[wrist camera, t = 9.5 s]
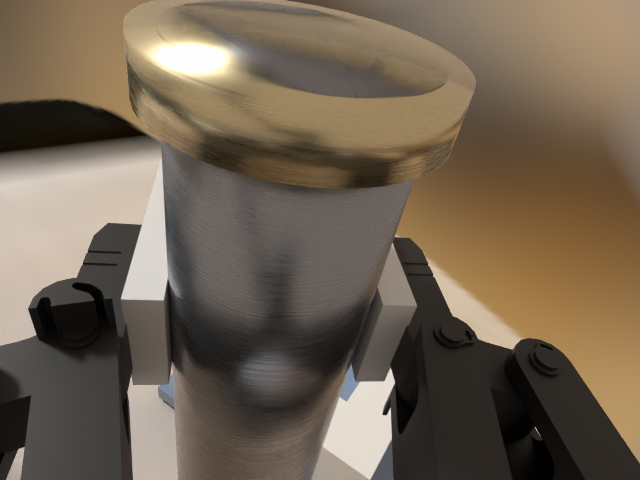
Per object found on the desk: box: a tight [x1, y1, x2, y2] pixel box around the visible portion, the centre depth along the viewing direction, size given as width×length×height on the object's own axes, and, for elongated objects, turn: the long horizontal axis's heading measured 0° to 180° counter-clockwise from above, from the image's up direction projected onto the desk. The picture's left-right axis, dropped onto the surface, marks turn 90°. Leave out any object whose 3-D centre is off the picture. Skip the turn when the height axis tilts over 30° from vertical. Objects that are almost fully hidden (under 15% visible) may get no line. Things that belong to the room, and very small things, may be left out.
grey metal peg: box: [123, 0, 476, 480], centre depth 11 cm, size 5×5×14 cm
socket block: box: [158, 365, 395, 480], centre depth 29 cm, size 14×14×4 cm
